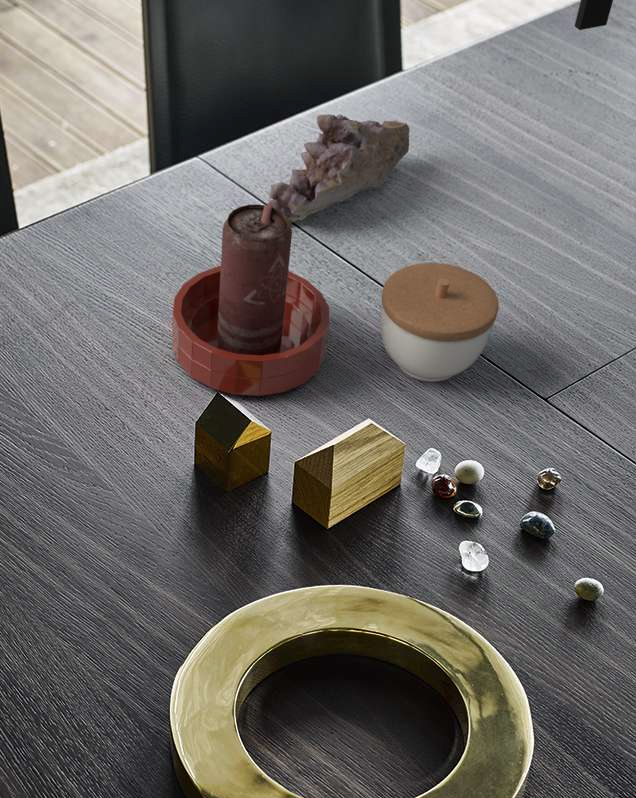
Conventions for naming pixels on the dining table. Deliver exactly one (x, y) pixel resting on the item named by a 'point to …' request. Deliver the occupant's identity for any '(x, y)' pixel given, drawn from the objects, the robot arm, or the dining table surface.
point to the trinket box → (436, 319)
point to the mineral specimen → (341, 164)
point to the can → (253, 280)
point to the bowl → (243, 371)
